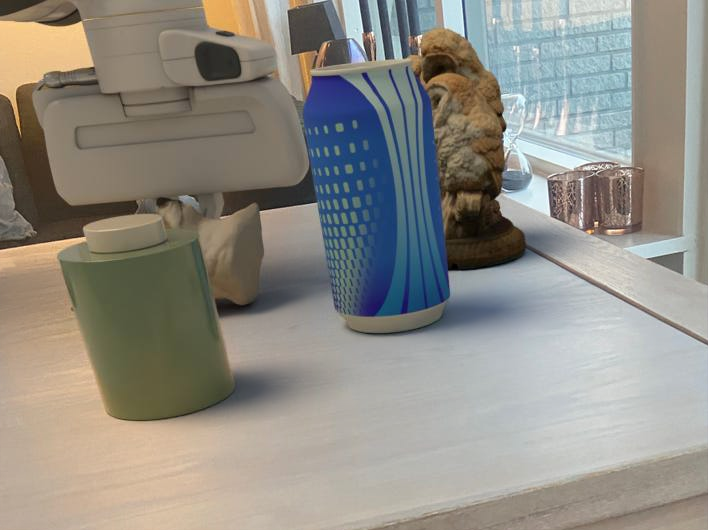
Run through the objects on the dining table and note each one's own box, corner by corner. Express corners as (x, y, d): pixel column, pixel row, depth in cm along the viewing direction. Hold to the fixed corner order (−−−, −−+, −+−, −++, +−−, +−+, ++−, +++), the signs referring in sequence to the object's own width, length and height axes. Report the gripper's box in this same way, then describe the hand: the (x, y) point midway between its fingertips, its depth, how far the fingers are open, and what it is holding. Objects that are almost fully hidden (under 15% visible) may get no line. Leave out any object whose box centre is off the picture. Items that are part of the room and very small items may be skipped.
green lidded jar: (83, 423, 57) (22, 242, 51) (134, 377, 63) (86, 213, 58) (211, 416, 56) (164, 232, 50) (250, 371, 62) (212, 203, 57)
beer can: (315, 323, 70) (271, 73, 61) (407, 297, 75) (377, 58, 66) (380, 344, 65) (341, 72, 56) (475, 314, 69) (453, 55, 60)
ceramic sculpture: (245, 191, 68) (37, 229, 68) (278, 314, 73) (83, 349, 72) (257, 171, 77) (73, 204, 76) (285, 282, 82) (112, 313, 81)
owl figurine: (355, 246, 92) (324, 37, 82) (463, 224, 96) (445, 23, 86) (436, 279, 78) (410, 34, 69) (558, 252, 82) (549, 18, 73)
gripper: (4, 77, 70) (67, 272, 78) (273, 48, 68) (310, 252, 76) (43, 71, 76) (98, 254, 83) (294, 44, 73) (327, 235, 81)
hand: (201, 253), depth 79 cm, fingers closed, pressing on ceramic sculpture
